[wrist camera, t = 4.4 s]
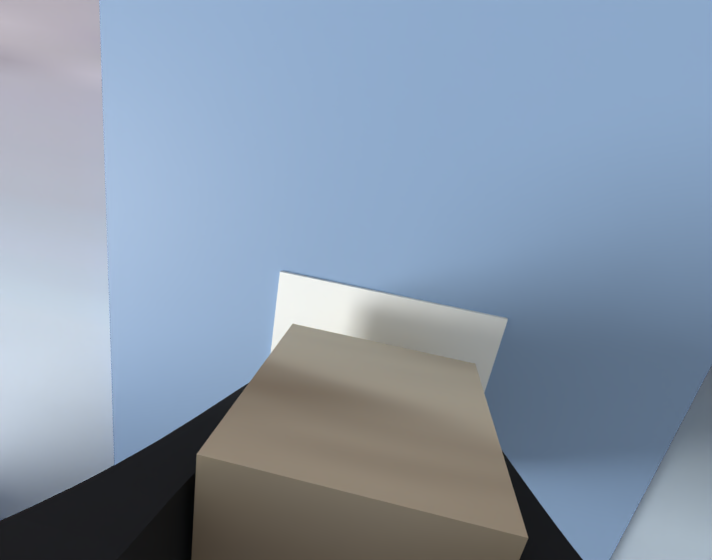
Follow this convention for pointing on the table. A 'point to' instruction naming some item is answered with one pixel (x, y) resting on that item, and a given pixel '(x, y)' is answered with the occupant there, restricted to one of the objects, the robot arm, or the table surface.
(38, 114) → the table surface
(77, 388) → the table surface
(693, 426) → the table surface
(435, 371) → the maple cube
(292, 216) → the board
